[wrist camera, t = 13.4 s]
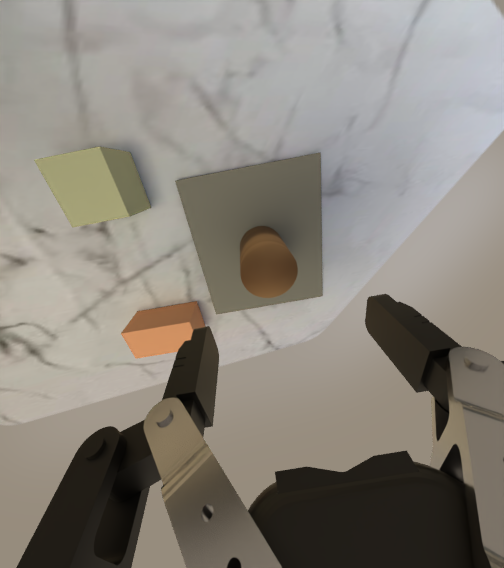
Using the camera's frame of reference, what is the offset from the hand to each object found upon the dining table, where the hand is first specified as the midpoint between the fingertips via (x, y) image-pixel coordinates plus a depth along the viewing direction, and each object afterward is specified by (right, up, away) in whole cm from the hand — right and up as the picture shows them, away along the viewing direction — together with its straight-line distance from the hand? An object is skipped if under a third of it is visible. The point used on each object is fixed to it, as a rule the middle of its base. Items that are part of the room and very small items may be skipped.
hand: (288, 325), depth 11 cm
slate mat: (-1, +7, +14) cm, 15 cm away
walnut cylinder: (-1, +6, +13) cm, 14 cm away
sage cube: (-15, +12, +10) cm, 22 cm away
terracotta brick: (-13, -3, +18) cm, 22 cm away
